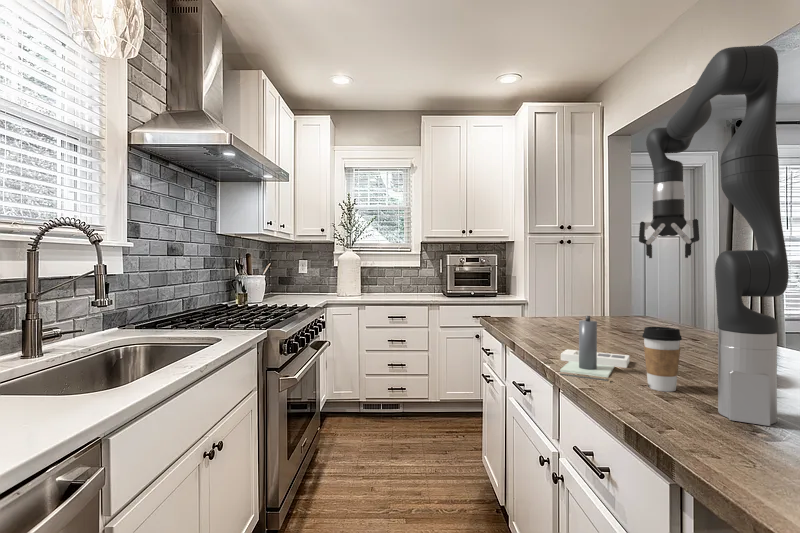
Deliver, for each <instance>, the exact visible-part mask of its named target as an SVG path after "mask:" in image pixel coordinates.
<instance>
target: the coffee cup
mask: <svg viewBox="0 0 800 533" xmlns="http://www.w3.org/2000/svg"><path fill="white" fill-rule="evenodd" d="M642 338H643V342H644V345H643V351H644V359H645V360H644V361H645V369H646V378H647V379H646V380H647V387H648V389H651V390H653V391H659V392H665V393H666V392H667V393H669V392H675V391H676V390H677V384H678V374H679V365H680V355H681V348H680V344H681V341H683V339H682V335H681V332H680V329H679V328H672V327H664V326H646V327H644V330H643V333H642Z"/></svg>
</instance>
